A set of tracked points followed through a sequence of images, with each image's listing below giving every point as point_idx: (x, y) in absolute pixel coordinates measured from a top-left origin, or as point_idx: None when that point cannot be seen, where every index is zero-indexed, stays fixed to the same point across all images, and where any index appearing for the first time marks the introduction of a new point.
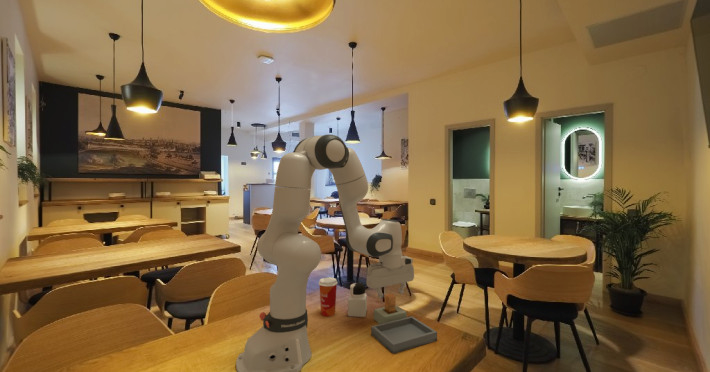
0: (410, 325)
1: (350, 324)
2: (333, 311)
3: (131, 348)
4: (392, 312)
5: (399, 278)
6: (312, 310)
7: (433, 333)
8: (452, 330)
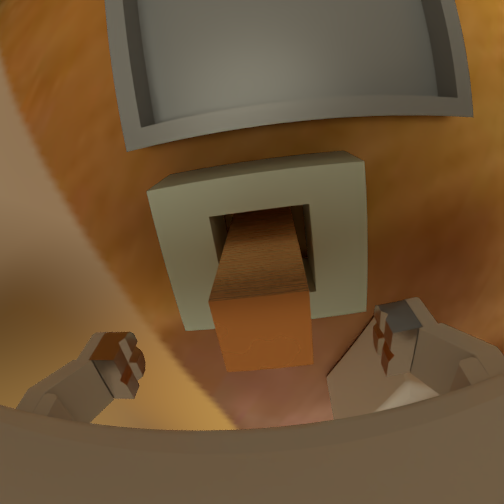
0: (175, 98)
1: (475, 261)
2: None
3: None
4: (258, 226)
5: (66, 498)
6: None
7: None
8: (6, 44)
